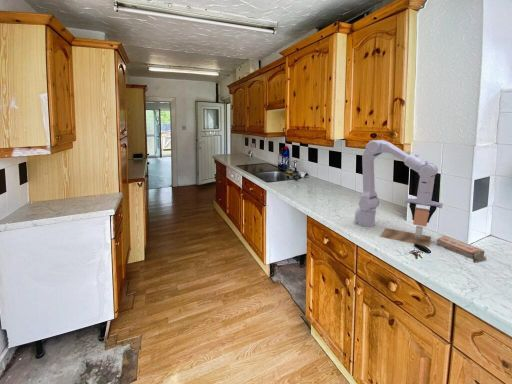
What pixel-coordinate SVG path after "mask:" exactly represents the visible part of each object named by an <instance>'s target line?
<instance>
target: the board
mask: <svg viewBox="0 0 512 384" xmlns="http://www.w3.org/2000/svg"><path fill="white" fill-rule="evenodd" d="M379 237H380V238H385V239H389V240H394V241H399V242H404V243H409V244H413V245H414V244H415V245H420V246H424V247H428V248H429V247H430V246H431V240H432V236H430V235H426V234H425V235H424V234H422V238H421V240H416V239H414V238H415V233H414V232H407V231H402V230H398V229H393V228H388V227H385V228H384V230H383V231H382V233H381V234H380V235H379Z"/></svg>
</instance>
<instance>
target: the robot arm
mask: <svg viewBox="0 0 512 384" xmlns="http://www.w3.org/2000/svg"><path fill="white" fill-rule="evenodd" d="M383 153H384V154H385V153H387V154H390V155H392V156H394V157H395V158H398V159H399V160H402V161H403V164H404V165H405V166H407V167H408V168H410V169H411V170H413V171H415V172H416V173H417V174H418V176H419V180H418V185H417V194H416V198H408V197H406V198H405V199H404V204H408V206H409V209H410V212H411V218H412V221H414V215H415V209H416V207H417V205H419V206H423V207H424V206H425V207H429V215H428V220H427V224H429V223H430V220H431V218H432V216H433V215H434V213H435V212H436V211H437V209H438V208H439V209H443V205H444V204H443V202H440V201H439V202H437V201H432V198H433V191H434V186H435V185H434V184H435V178H436V175H437V174H438V171H439V169H438V166H437V165H436V164H434V163H433V162H429V161H428V159H427V160H424V159H423V158H421V157H419V155H418V154H417V153H416V154H414V153H411V154H409V153H407V152H405V151H404V150H402V149H400V148H399V147H398V146H396V145H394V144H393V143H391V142H389V141H387V140H385V139H377V140H376V139H373V140H370V141H369V142H368V143H366V144H365V150H364V151H363V153H362V157H361V158H362V159H361V162H362V163H361V165H362V193H361V195H360V199H359V201H358V207H359V208H356V210H355V215H354V225H358V226H362V227H365V228H372V227H374V226H375V222H376V221H375V220H376V212H377V208H378V207H379V206H380V200H379V198H378V193H377V192H376V190H375V189H376V188H375V187H376V186H375V184H376V183H375V159H376V158H378V156H380V155H382V154H383Z"/></svg>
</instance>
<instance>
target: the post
mask: <svg viewBox="0 0 512 384" xmlns="http://www.w3.org/2000/svg"><path fill="white" fill-rule="evenodd" d="M415 226H416V227H415V238H414V239H416V240H421V238H422V235H423V232H424V231H423V230H424V226H420V225H415Z"/></svg>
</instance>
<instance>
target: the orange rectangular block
mask: <svg viewBox="0 0 512 384" xmlns="http://www.w3.org/2000/svg"><path fill="white" fill-rule="evenodd" d="M429 210H430V208H423V207H417V206H416V209H415V215H414V220H413V223H412V224H413V225H415V226H420V227H426V228H427V226H428V223H427V220H428V216H429Z"/></svg>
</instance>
